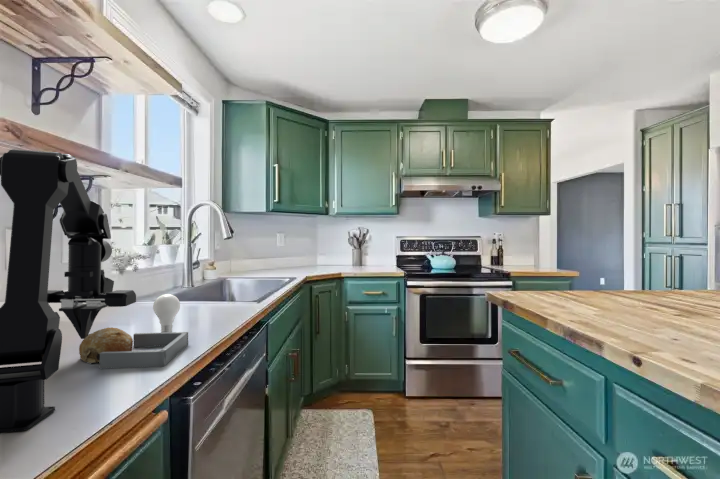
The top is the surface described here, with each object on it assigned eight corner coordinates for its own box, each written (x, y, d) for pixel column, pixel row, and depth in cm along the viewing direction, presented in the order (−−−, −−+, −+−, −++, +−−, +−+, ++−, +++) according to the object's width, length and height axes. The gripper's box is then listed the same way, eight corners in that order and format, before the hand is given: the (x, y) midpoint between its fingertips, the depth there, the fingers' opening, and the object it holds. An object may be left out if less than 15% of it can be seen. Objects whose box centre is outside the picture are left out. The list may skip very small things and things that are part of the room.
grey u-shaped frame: (164, 366, 78) (164, 351, 78) (99, 368, 76) (99, 353, 76) (188, 344, 93) (188, 331, 93) (135, 345, 92) (135, 333, 92)
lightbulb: (172, 339, 98) (172, 296, 98) (147, 338, 98) (148, 295, 98) (184, 332, 104) (184, 292, 104) (161, 332, 104) (161, 292, 104)
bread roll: (74, 380, 79) (66, 349, 76) (91, 346, 88) (86, 317, 85) (128, 375, 82) (123, 346, 79) (140, 343, 91) (136, 315, 87)
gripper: (146, 263, 92) (145, 328, 92) (60, 263, 89) (59, 330, 90) (125, 267, 81) (124, 341, 81) (26, 267, 78) (25, 343, 78)
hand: (84, 338), depth 83 cm, fingers closed
